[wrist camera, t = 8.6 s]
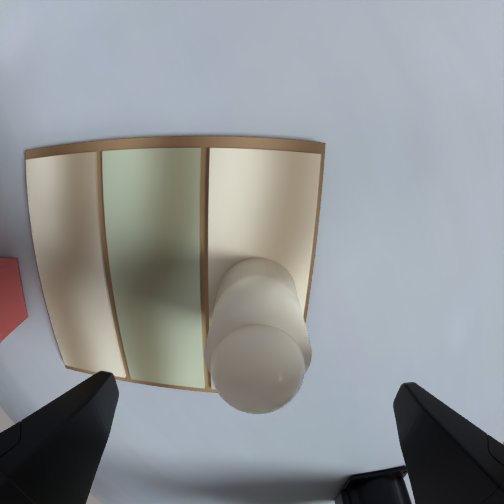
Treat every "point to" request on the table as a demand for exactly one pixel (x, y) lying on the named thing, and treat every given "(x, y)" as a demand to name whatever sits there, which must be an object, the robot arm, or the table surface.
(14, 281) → the die
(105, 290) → the board
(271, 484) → the table surface
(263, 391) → the pawn
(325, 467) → the table surface
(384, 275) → the table surface
